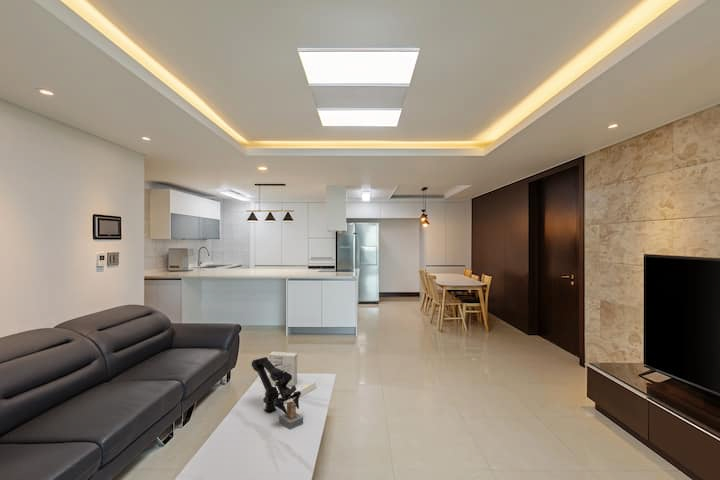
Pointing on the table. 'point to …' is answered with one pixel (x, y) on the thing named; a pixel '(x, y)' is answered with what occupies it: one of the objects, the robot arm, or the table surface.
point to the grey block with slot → (290, 421)
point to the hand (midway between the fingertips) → (292, 411)
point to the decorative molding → (303, 390)
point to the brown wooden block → (291, 410)
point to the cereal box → (284, 365)
